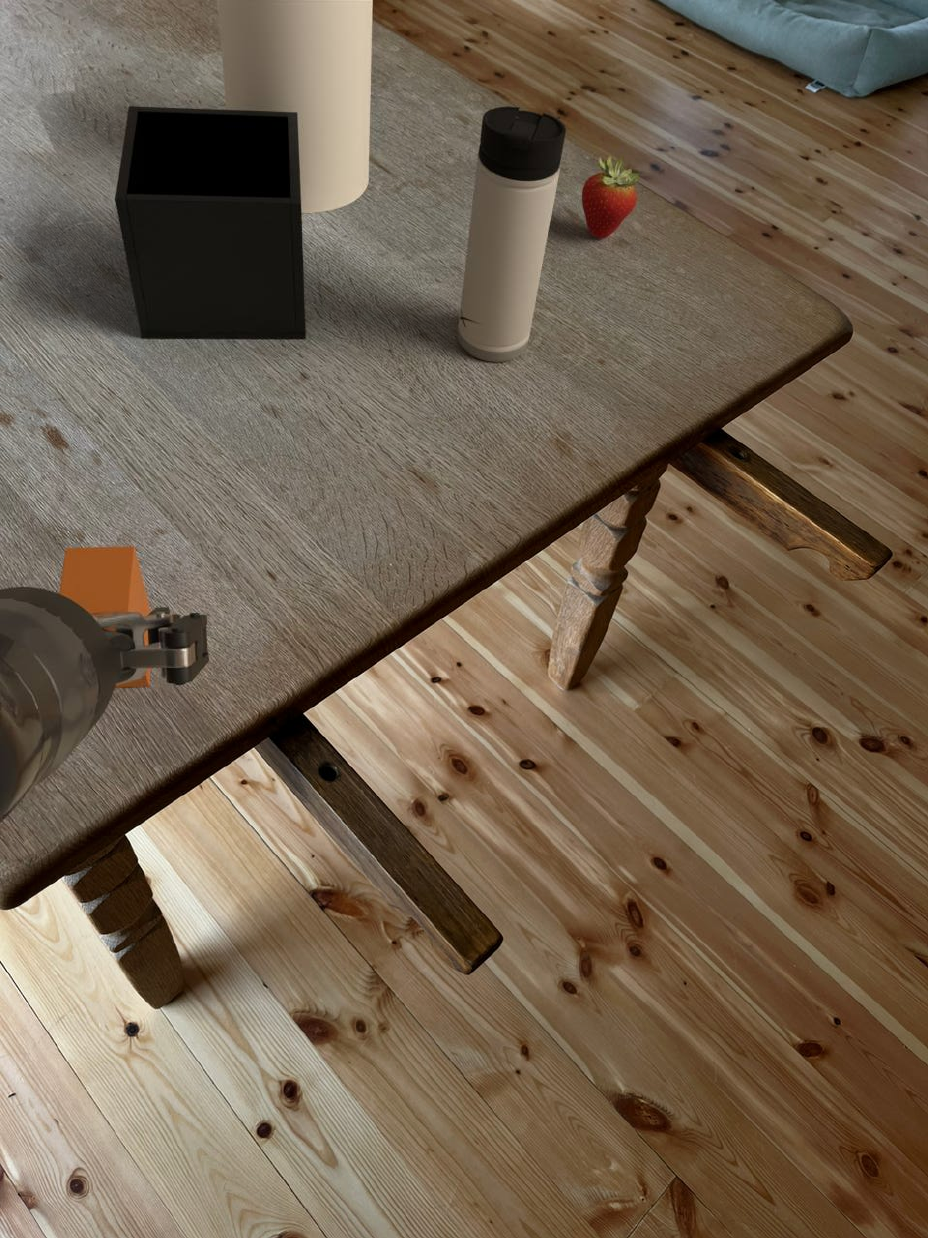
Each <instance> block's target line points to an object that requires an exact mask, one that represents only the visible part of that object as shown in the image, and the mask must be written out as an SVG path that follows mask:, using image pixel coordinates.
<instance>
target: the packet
mask: <svg viewBox="0 0 928 1238" xmlns="http://www.w3.org/2000/svg"><path fill="white" fill-rule="evenodd" d="M61 571H62V572H61V578H60V584H59V590H58V592H59V593H58V594H61V595H63V596H65V597H67V598H69V599H71V600H73V601H74V602H76V603H77V604H79V605H80V606H81V607H83V608H84V609H85V610H86V611H87V612H89V613H90V614H91V615H99V614H104V613H110V612H116V611H126V612H138V613H140V614H141V615H142V616H143V617H144V616H147V615H148V614H150V613H151V612H152V610H151V605H150V603H149V598H148V594H147V590H146V587H145V583H144V579H143V574H142V570H141V567H140V562H139V559H138V554H137V551H136V547H135V546H133V545H131V546H93V547H91V546H89V547H65V551H64V558H63V564H62V569H61ZM104 629H106V630H110V631H115V632H116V630H115V627H109V628H104ZM144 645H145V646H146V645H148V629H147V630H146V631H145V633H144ZM151 669H152V668H148V669H147V672H146V674H145V676H144V677H143V678H142V679H139V680H135V681H131V682H127V683H123V684H119V685H116V686H115V689H119V688H121V689H122V688H140V687H141V688H142V687H143V688H144V687H150V683H151Z"/></svg>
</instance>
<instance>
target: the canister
mask: <svg viewBox="0 0 928 1238" xmlns="http://www.w3.org/2000/svg"><path fill="white" fill-rule="evenodd" d="M373 6H374V0H216V8H217V19H218V30H219V42H220V52H221V60H222V61H221V63H222V73H223V84H224V97H225V105H226V106H225V107H226V110H247V111H274V112H297V114H298V138H299V162H300V187H301V212H302V214H313V213H314V214H316V213H323V212H324V213H325V212H329V211H333V210H337V209H340V208H343V207H345V206H348V205H350V204H351V203H353V202H355V201H356V200H358V199H359V198H360V197H362V196H363V194H364V193H365V191H366V190H367V188H368V185H369V182H370V181H369V180H370V142H371V141H370V137H371V136H370V134H371V99H372V98H371V97H372V96H371V95H372V94H371V91H372V49H373Z"/></svg>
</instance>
